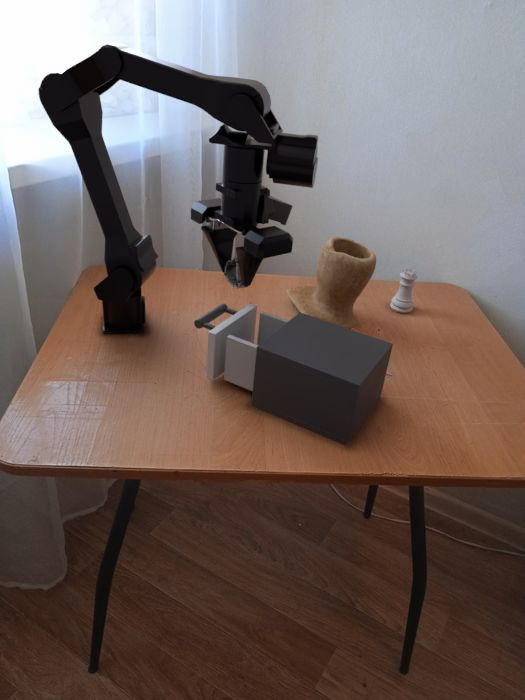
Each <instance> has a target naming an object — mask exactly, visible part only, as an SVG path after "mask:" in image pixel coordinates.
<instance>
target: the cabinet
mask: <svg viewBox="0 0 525 700" xmlns="http://www.w3.org/2000/svg"><path fill="white" fill-rule="evenodd" d="M393 347H394V343H393V342H389V341H388V340H387V341H386V340H384V339H381V338H377V337H375V336H371V335H368V334H366V333H364V332H360V331H357V330H355V329H348V328H345V327H342V326H339V325H336V324H333V323H330V322H327V321H325V320H322V319H319V318H316V317H313V316H310V315H307V314H304V313H301V312H298V313H297V314H296V315H294V316H293V317H292V318H291V319H290V320H289V321H288V322H287V323H286V324H285V325H283V326H282V327H281V328H280V329H278V330H277V331H276V332H275V333H273V334H272V335H271V336H270V337H268V338H267V339H266V340H265V341H263V342H262V343H261V344H260V345H258V346H257V350H256V361H255V372H254V382H253V391H252V395H251V404H250V405H251V406H253V407H255V408H257V409H258V410H262V411H264V412H265V413H268V414H271V415H274V416H276V417H278V418H281V419H282V420H285V421H288V422H290V423H293V424H295V425H296V426H299V427H302V428H304V429H307V430H309V431H311V432H313V433H316V434H318V435H320V436H322V437H325V438H327V439H329V440H332V441H335V442H337V443H339V444H342V445H344V446H348V445H349V443H350V442H351V440H352V439H353V438H354V436H355V435H356V433H357V432H358V430H359V429H360V428H361V426H362V425H363V424H364V422H365V421H366V419H367V418H368V417H369V416H370V414H371V412H372V411H373V410H374V408H375V407H376V405H377V404H378V403H379V401H380V400H381V397H382V392H383V388H384V385H385V384H384V383H385V379H386V376H387V372H388V368H389V363H390V360H391V355H392V351H393Z"/></svg>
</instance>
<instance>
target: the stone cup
mask: <svg viewBox="0 0 525 700" xmlns="http://www.w3.org/2000/svg"><path fill="white" fill-rule="evenodd" d="M376 265H377V255H376V254H375V252H374V251H373V250H372V249H371V248H369V247H368V246H366V245H365V244H363V243H361V242H358V241H356V240H354V239H351V238H347V237H343V236H333V237H331V238H328V239H327V240H326V241H325V242H324V243H323V244H322V247H321V250H320V252H319V256H318V260H317V265H316V285H313V284H299V285H295V286H291V287H290V288H287V290H286V294H287V296H288V298H289V299H290V301H291V302H292V304H293V306H295V308H296V309H297V311H298V313H300V312H301V313H304V314H307V315H310V316H313V317H316V318H319V319H322V320H325V321H327V322H330V323H333V324H336V325H339V326H342V327H345V328H348V329H351V330H355V329H356V328H357V327H358V326H359V321H358V319H357V317H356V315H355V312H354V311H353V310H354V305H355V303H356V302H357V300H358V298H359V296H361V294H362V292H363V291H364V289H365V288H366V287H367V285H368V284H369V282H370V281H371V278H372V277H373V274H374V272H375V271H376Z"/></svg>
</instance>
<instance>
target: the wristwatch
mask: <svg viewBox="0 0 525 700" xmlns="http://www.w3.org/2000/svg"><path fill="white" fill-rule="evenodd" d="M223 276H225V279H226V281H227V283H229V284H230V285H231V286H232V287H233V288H235V287H236V289H243V288H244V289H245V288H249V286H247V287H245V286H243V283H242V279H241V274H240V269H239V264H238V259H237V257H232V259H231V260H228V262H227V263H226V266H225V273H223Z"/></svg>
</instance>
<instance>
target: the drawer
mask: <svg viewBox="0 0 525 700" xmlns="http://www.w3.org/2000/svg"><path fill="white" fill-rule="evenodd" d="M257 311H258V305H257V304H255V303H252V302H250V303H249V304H247V305H245V307H243V308H241V309H240V310H235V309H232V308H229V307H228V305H227V304H226V303H224V302H223V303H221V304H219V305H218V306H216V307H214V308H213V309H211V310H209V311H208V312H206V313H205V314H203V315H201V316H200V317H198V318H197V319H195V320H194V321H193V324H194V327H195V328H196V329H202V328H204V329H206V330H209V331H208V333H207V354H206V355H207V357H206V379H209V380H211V381H215V379H217V378H218V377H220V376H221V375H223V380H224V381H226V382H229V383H231V384H234V385H236V386H238V387H241V388H243V389H245V390H248V391H250V392H253V382H254V372H255V361H256V350H257V346H258V345H260V344H261V343H262V342H263V341H265V340H266V339H267V338H268V337H270V336H271V335H272V334H273V333H275V332H276V331H277V330H278V329H280V328H281V327H282V326H283V325H285V324H286V323H287V322H288V321H290V320H289V319H286V318H283V317H280V316H277V315H274V314H272V313H269V312H267V311H263V310H262V311H261V312H259V319H258V328H257V329H258V330H257V340H256V341H257V342H256V343H255V337H256V335H255V334H256V326H257V325H256V323H257V314H258V312H257ZM225 313H226V314H229V315H231V316H229V317H228V318H227V319H225V320H224V321H222V322H221V323H219V324H217V325H214V324H211V323H212V322H213V321H215V320H216V319H217V318H219V317H221V316H222V315H223V314H225Z"/></svg>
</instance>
